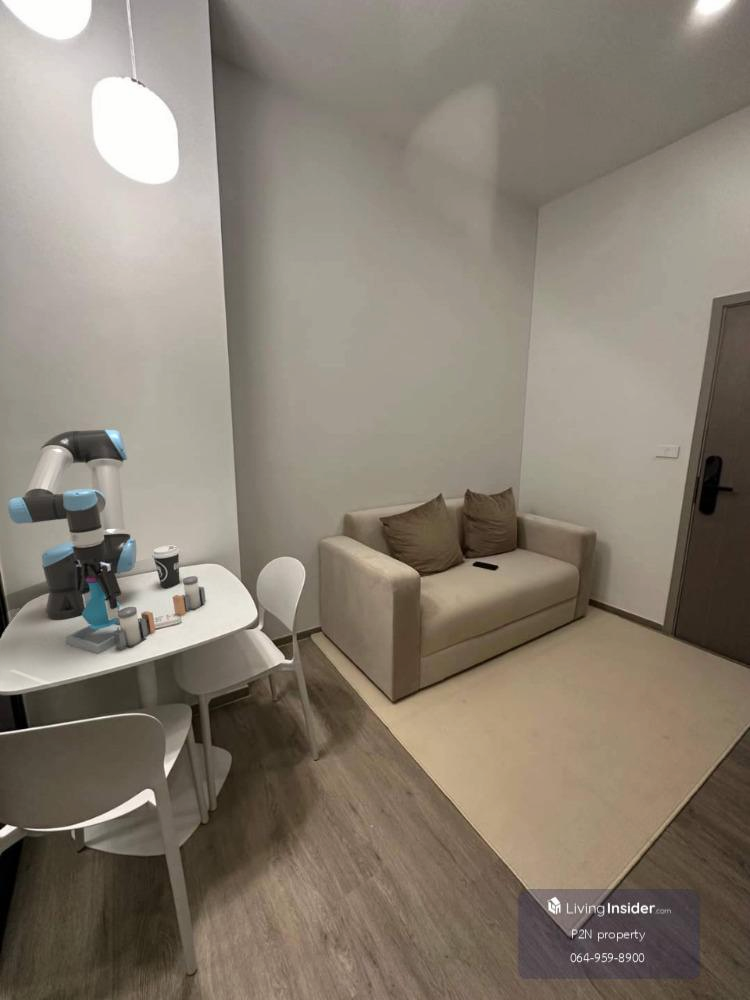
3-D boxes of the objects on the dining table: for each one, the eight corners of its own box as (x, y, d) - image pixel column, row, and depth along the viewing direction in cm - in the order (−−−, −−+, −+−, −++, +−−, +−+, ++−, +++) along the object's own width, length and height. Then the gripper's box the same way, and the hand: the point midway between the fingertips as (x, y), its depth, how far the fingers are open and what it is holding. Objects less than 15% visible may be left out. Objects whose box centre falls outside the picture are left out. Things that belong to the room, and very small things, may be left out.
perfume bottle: (128, 618, 121) (120, 572, 118) (97, 634, 113) (87, 585, 110) (109, 613, 125) (101, 568, 122) (78, 627, 117) (68, 579, 113)
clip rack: (112, 650, 114) (108, 628, 112) (197, 601, 142) (194, 583, 141) (126, 654, 112) (122, 631, 110) (209, 603, 140) (207, 585, 139)
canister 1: (119, 644, 115) (113, 612, 113) (134, 636, 120) (128, 605, 117) (130, 647, 114) (125, 615, 111) (145, 638, 118) (140, 608, 116)
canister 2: (183, 607, 136) (179, 580, 134) (194, 601, 140) (190, 575, 138) (193, 610, 134) (190, 582, 132) (204, 603, 139) (200, 577, 136)
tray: (67, 646, 116) (65, 637, 116) (113, 622, 129) (111, 614, 128) (99, 656, 111) (97, 646, 111) (144, 630, 124) (142, 621, 123)
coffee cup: (176, 589, 152) (171, 552, 149) (151, 590, 152) (145, 553, 149) (188, 579, 161) (183, 544, 158) (165, 579, 161) (159, 544, 158)
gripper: (50, 543, 114) (65, 615, 119) (101, 551, 106) (115, 628, 111) (77, 536, 121) (90, 603, 126) (127, 543, 113) (140, 615, 118)
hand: (102, 615), depth 118 cm, fingers closed on perfume bottle, 9 cm apart
